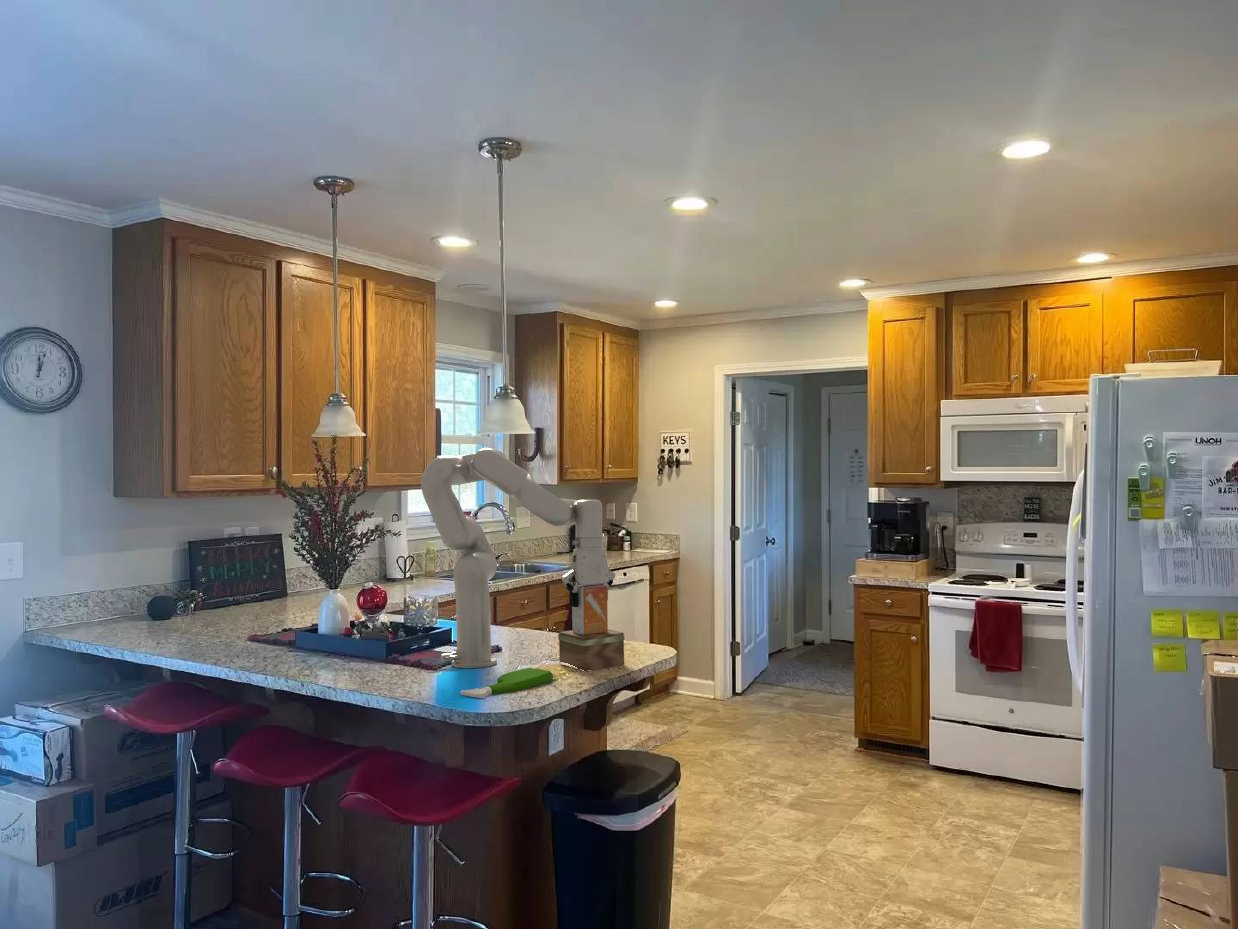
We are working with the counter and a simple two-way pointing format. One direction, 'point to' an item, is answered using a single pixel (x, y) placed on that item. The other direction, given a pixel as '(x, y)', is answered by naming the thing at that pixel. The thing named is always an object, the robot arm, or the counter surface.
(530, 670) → the green and white oblong
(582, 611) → the small box
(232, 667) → the counter surface
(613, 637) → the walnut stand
